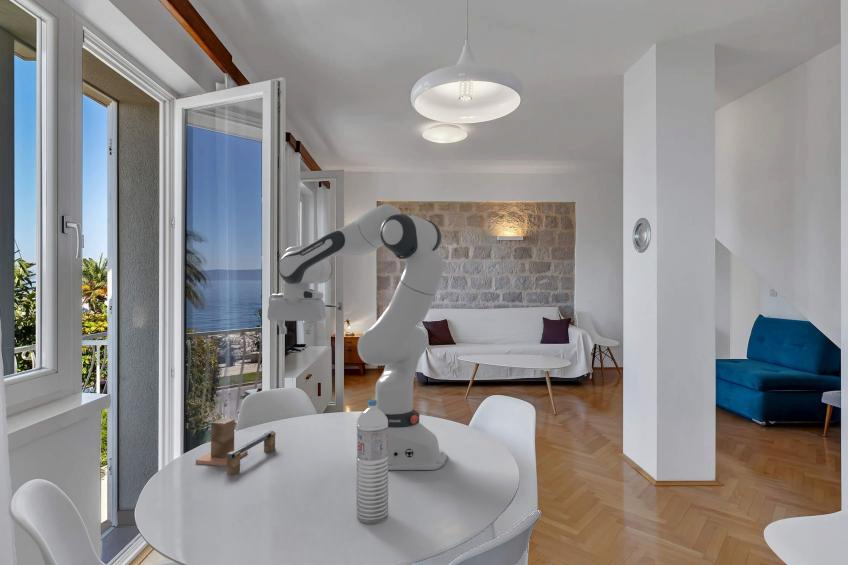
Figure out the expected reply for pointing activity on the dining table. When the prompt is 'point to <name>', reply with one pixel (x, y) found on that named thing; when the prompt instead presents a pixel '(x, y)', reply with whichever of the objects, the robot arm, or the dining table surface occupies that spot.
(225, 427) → the walnut block
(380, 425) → the water bottle
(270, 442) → the hurdle posts
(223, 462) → the coaster
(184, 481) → the dining table surface
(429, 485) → the dining table surface
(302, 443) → the dining table surface
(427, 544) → the dining table surface
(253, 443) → the metal bar
